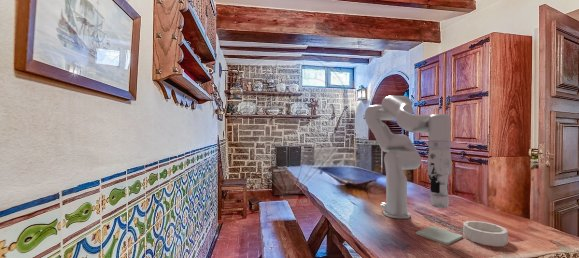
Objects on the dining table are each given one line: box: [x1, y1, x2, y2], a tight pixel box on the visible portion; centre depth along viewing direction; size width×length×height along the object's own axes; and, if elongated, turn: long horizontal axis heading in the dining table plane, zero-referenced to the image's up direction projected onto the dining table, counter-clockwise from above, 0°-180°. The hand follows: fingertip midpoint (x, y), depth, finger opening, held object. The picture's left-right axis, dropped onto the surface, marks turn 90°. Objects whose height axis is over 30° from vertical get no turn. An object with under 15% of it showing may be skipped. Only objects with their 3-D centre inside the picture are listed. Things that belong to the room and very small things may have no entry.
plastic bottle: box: [429, 167, 450, 209], centre depth 104 cm, size 6×7×20 cm
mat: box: [415, 225, 464, 246], centre depth 105 cm, size 12×12×1 cm
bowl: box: [462, 220, 509, 247], centre depth 102 cm, size 13×13×4 cm
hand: (439, 191), depth 104 cm, fingers closed on plastic bottle, 5 cm apart
